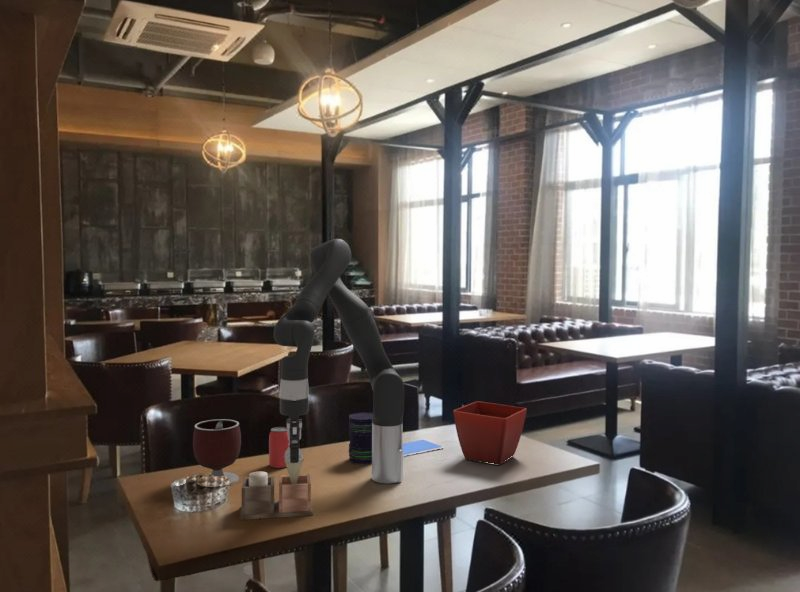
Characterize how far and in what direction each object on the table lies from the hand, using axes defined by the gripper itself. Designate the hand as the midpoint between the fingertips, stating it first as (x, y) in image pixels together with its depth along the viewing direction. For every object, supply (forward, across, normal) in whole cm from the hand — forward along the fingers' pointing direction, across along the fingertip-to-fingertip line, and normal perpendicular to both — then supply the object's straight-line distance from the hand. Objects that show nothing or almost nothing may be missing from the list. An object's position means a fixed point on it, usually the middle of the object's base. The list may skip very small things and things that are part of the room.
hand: (294, 458), depth 171 cm
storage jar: (+14, -40, +23) cm, 49 cm away
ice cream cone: (+9, 0, 0) cm, 9 cm away
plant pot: (+14, -36, +66) cm, 76 cm away
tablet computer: (+14, -51, +42) cm, 67 cm away
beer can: (+14, -38, -4) cm, 41 cm away
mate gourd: (+14, -26, -22) cm, 37 cm away
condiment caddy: (+14, 0, -5) cm, 14 cm away
